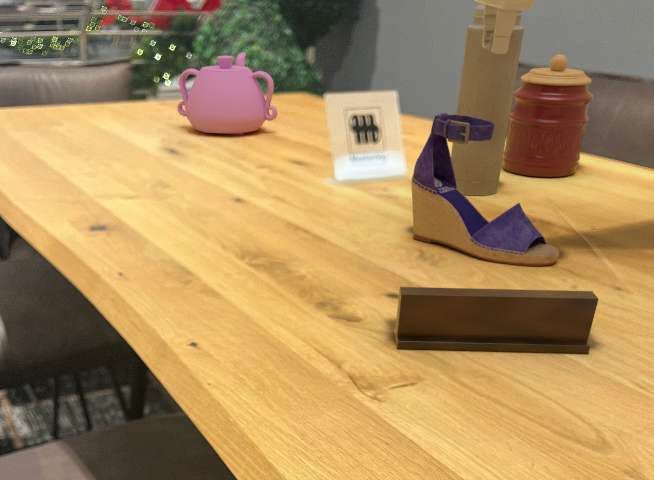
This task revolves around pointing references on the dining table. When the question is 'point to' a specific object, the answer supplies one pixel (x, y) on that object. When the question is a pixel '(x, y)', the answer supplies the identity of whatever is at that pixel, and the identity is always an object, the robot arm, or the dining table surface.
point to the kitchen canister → (548, 121)
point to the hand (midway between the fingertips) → (493, 51)
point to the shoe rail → (494, 319)
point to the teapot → (226, 98)
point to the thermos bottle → (485, 106)
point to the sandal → (468, 203)
